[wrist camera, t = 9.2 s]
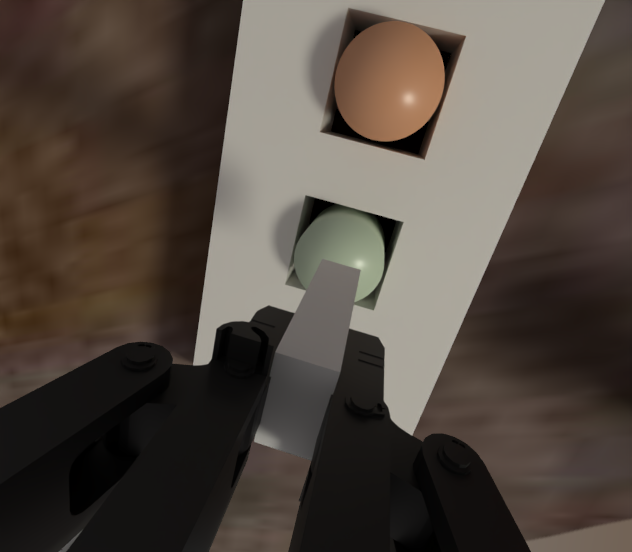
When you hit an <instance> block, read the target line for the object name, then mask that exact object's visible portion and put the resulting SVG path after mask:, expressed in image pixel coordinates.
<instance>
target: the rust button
mask: <svg viewBox="0 0 632 552" xmlns="http://www.w3.org/2000/svg"><path fill="white" fill-rule="evenodd" d="M444 82H445V72H444V64H443V60H442V57H441V54H440V51H439V49H438V48H437V46H436V44H435V43H434V41H433V40H432V39H431V37H430V36H429V35H428V34H427V33H426V32H424V31H423V30H421V29H420V28H418V27H416V26H414V25H412V24H409V23H406V22H401V21H388V22H382V23H379V24H375V25H373V26H371V27H369V28H367V29H365V30H364V31H362V32H361V33H360V34H359V35H357V36H356V37H355V38H354V39H353V40H352V41H351V42H350V44H349V45H348V46H347V48H346V49H345V51H344V53H343V54H342V56H341V58H340V61H339V63H338V66H337V70H336V75H335V84H334V88H335V97H336V102H337V105H338V109H339V111H340V113H341V115H342V117H343V118H344V120H345V121H346V122H347V124H348V125H349V126H350V127H351V128H352V129H353V130H354V131H356V132H357V133H358V134H360V135H362V136H364V137H366V138H368V139H371V140H376V141H395V140H399V139H402V138H405V137H407V136H409V135H411V134H413V133H414V132H416V131H417V130H419V129H420V128H421V127H422V126H423V125H425V124H426V122H427V121H428V120H429V119H430V118H431V116H432V115H433V113H434V112H435V110H436V108H437V106H438V104H439V102H440V99H441V97H442V93H443V89H444Z"/></svg>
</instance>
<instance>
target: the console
mask: <svg viewBox="0 0 632 552" xmlns="http://www.w3.org/2000/svg"><path fill="white" fill-rule="evenodd" d="M604 1H605V0H243V5H242V12H241V20H240V27H239V34H238V42H237V49H236V56H235V63H234V71H233V78H232V85H231V93H230V100H229V107H228V114H227V122H226V129H225V136H224V143H223V151H222V158H221V165H220V173H219V180H218V187H217V194H216V202H215V209H214V216H213V224H212V231H211V238H210V245H209V253H208V260H207V267H206V275H205V282H204V289H203V296H202V304H201V311H200V318H199V325H198V333H197V340H196V347H195V355H194V362H193V365H205V364H208V363H209V362H210V361H211V359H212V354H213V348H214V341H215V335H216V329H217V328H218V327H220V326H221V325H222V324H225V323H229V322H232V321H245V322H250V321H251V319H252V317H253V316H254V315H255V313H256V312H257V311H258V310H260V309H262V308H264V307H266V306H268V305H269V306H273V307H276V308H279V309H283V310H286V311H289V312H293V313H295V312H296V310H297V308H298V306H299V304H300V302H301V300H302V298H303V296H304V294H305V292H306V289H305V288H304V286H303V285H302V284H301V282H300V280H299V279H298V276H297V274H296V271H295V267H294V253H295V249H296V245H297V243H298V241H299V239H300V238H301V236H302V235H303V233H304V232H305V231H306V230H307V228H308V226H309V222H310V217H311V213H312V209H313V205H314V201H315V198H318V199H322V200H325V201H329V202H333V203H336V204H340V205H343V206H347V207H351V208H354V209H358V210H362V211H365V212H369V213H373V214H376V215H380V216H383V217H387V218H391V219H394V220H396V223H395V227H394V230H393V233H392V236H391V239H390V242H389V245H388V248H387V251H386V254H385V257H384V270H383V274H382V277H381V280H380V282H379V283H378V285H377V286H376V288H375V289H374V290H373V291H372V292H371V293H370V294H369V295H367V296H366V297H365V298H363V299H361V300H359V301H356V302H354V306H353V311H352V316H351V321H350V326H349V329H353V330H356V331H359V332H363V333H366V334H369V335H373V336H376V337H379V339H380V341H381V343H382V344H383V346H384V348H385V359H384V402H385V403H386V405H387V406H388V409H389V412H390V418H391V420H392V421H393V422H394V423H395V424H396V425H397V426H398V427H400V428H401V429H402V430H404V431H405V432H407V433H408V434H410V435H413V432H414V430H415V428H416V426H417V423H418V421H419V419H420V417H421V414H422V412H423V410H424V408H425V405H426V403H427V401H428V398H429V396H430V394H431V392H432V389H433V387H434V385H435V383H436V380H437V378H438V376H439V374H440V371H441V369H442V367H443V365H444V362H445V360H446V358H447V356H448V353H449V351H450V349H451V347H452V344H453V342H454V340H455V338H456V335H457V333H458V331H459V329H460V326H461V324H462V322H463V320H464V317H465V315H466V313H467V310H468V308H469V306H470V304H471V301H472V299H473V297H474V295H475V292H476V290H477V288H478V286H479V283H480V281H481V279H482V277H483V274H484V272H485V270H486V268H487V265H488V263H489V261H490V259H491V256H492V254H493V252H494V250H495V247H496V245H497V243H498V241H499V238H500V236H501V234H502V232H503V229H504V227H505V225H506V222H507V220H508V218H509V216H510V213H511V211H512V209H513V207H514V204H515V202H516V200H517V198H518V195H519V193H520V191H521V189H522V186H523V184H524V182H525V180H526V177H527V175H528V173H529V171H530V168H531V166H532V164H533V162H534V159H535V157H536V155H537V153H538V150H539V148H540V146H541V144H542V141H543V139H544V137H545V134H546V132H547V130H548V128H549V125H550V123H551V121H552V119H553V116H554V114H555V112H556V110H557V107H558V105H559V103H560V101H561V98H562V96H563V94H564V92H565V89H566V87H567V85H568V83H569V80H570V78H571V76H572V74H573V71H574V69H575V67H576V65H577V62H578V60H579V58H580V56H581V53H582V51H583V49H584V46H585V44H586V42H587V40H588V37H589V35H590V33H591V31H592V28H593V26H594V24H595V22H596V19H597V17H598V15H599V13H600V10H601V8H602V6H603V4H604ZM388 21H401V22H406V23H409V24H412V25H414V26H416V27H418V28H420V29H421V30H423V31H424V32H426V33H427V34H428V35H429V36H430V37H431V39H432V40H433V41H434V43H435V44H436V46H437V48H438V49H439V50H440V51H444V52H448V53H451V56H450V59H449V62H448V65H447V68H446V71H445V82H444V89H443V93H442V97H441V99H440V102H439V104H438V106H437V108H436V110H435V112H434V113H433V115H432V116H431V118H430V120H429V123H428V126H427V129H426V132H425V135H424V138H423V141H422V144H421V147H420V150H419V153H418V154H415V153H411V152H408V151H404V150H400V149H396V148H392V147H388V146H385V145H381V144H377V143H373V142H369V141H366V140H362V139H358V138H354V137H350V136H347V135H343V134H339V133H335V132H331V129H332V125H333V121H334V117H335V112H336V108H337V102H336V97H335V88H334V84H335V75H336V70H337V66H338V63H339V61H340V58H341V56H342V54H343V53H344V51H345V49H346V48H347V46H348V45H349V44H350V42H351V41H352V40H353V37H354V33H355V30H358V31H364V30H365V29H367V28H369V27H371V26H373V25H375V24H379V23H382V22H388Z"/></svg>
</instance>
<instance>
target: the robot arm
mask: <svg viewBox="0 0 632 552" xmlns="http://www.w3.org/2000/svg"><path fill="white" fill-rule="evenodd" d="M360 271H361V270H359V269H356V268H353V267H349V266H346V265H342V264H339V263H335V262H332V261H328V260H325V259H322V260H321V262H320V264H319V266H318V268H317V270H316V272H315V274H314V276H313V278H312V280H311V282H310V284H309V286H308V288H307V290H306V292H305V294H304V296H303V298H302V300H301V302H300V304H299V306H298V308H297V310H296V312H295V313H293V312H289V311H286V310H283V309H279V308H276V307H273V306H269V305H268V306H266V307H264V308H262V309H260V310H258V311H257V312H256V313H255V315H254V316H253V317H252V319H251V321H250V322H245V321H232V322H229V323H225V324H222V325H221V326H220V327H218V328H217V329H216V335H215V341H214V348H213V354H212V359H211V361H210V362H209V363H208V364H205V365H181V364H172V361H173V358H172V356H171V354H170V352H169V351H168V350H167V349H165V348H164V347H163V346H160V345H157V344H154V343H148V342H135V343H127V344H125V345H122V346H119V347H117V348H115V349H113V350H111V351H109V352H107V353H105V354H103V355H101V356H99V357H97V358H95V359H94V360H92V361H90V362H88V363H86V364H84V365H82V366H80V367H78V368H76V369H74V370H73V371H71V372H69V373H67V374H65V375H63V376H61V377H59V378H57V379H55V380H53V381H51V382H50V383H48V384H46V385H44V386H42V387H40V388H38V389H36V390H34V391H32V392H30V393H28V394H27V395H25V396H23V397H21V398H19V399H17V400H15V401H13V402H11V403H9V404H7V405H5V406H4V407H2V408H0V552H59V551H60V550H61V549H62V548H63V547H64V546H65V545H66V544H68V543H69V542H70V541H71V540H72V539H73V538H74V537H75V536H76V535H77V534H78V533H79V532H81V533H80V534H79V535H78V537H77V538H76V539H75V541H74V542H73V543H72V545H71V546H70V547H69V549H68V550H67V551H66V552H209V550H210V547H211V545H212V543H213V540H214V538H215V536H216V533H217V531H218V528H219V526H220V524H221V521H222V519H223V517H224V514H225V512H226V509H227V507H228V505H229V502H230V500H231V498H232V495H233V493H234V490H235V488H236V486H237V483H238V481H239V479H240V476H241V474H242V471H243V469H244V467H245V464H246V462H247V460H248V455H249V451H250V447H251V443H252V441H253V439H254V436H255V434H256V436H255V440H254V442H257V443H260V444H263V445H266V446H269V447H272V448H275V449H278V450H281V451H284V452H287V453H290V454H293V455H296V456H299V457H302V458H305V459H308V460H311V465H310V468H309V471H308V474H307V477H306V480H305V483H304V486H303V490H302V493H301V496H300V499H299V501H300V506H299V510H298V514H297V518H296V522H295V527H294V531H293V535H292V539H291V543H290V547H289V552H531V551H530V549H529V547H528V545H527V543H526V541H525V540H524V538H523V536H522V534H521V532H520V530H519V528H518V526H517V524H516V523H515V521H514V519H513V517H512V515H511V513H510V511H509V509H508V507H507V506H506V504H505V502H504V500H503V498H502V496H501V494H500V492H499V490H498V489H497V487H496V485H495V483H494V481H493V479H492V477H491V475H490V473H489V472H488V470H487V468H486V466H485V464H484V462H483V461H482V460H481V458H480V457H479V455H478V454H477V453H476V452H475V451H474V450H473V449H472V448H471V447H469V446H468V445H467V444H466V443H464V442H462V441H461V440H459V439H457V438H455V437H453V436H449V435H446V434H431V435H429V436H428V437H426V438H425V439H424V441H423V442H422V441H421V440H419V439H417V438H415V437H414V436H412V435H410V434H408V433H407V432H405V431H404V430H402V429H401V428H400V427H398V426H397V425H396V424H395V423H394V422H393V421H392V420H391V418H390V412H389V409H388V406H387V405H386V403H385V402H384V359H385V348H384V346H383V344H382V343H381V341H380V339H379V337H376V336H373V335H369V334H366V333H363V332H359V331H356V330H353V329H349V326H350V321H351V316H352V311H353V306H354V301H355V296H356V291H357V286H358V281H359V276H360Z"/></svg>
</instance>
